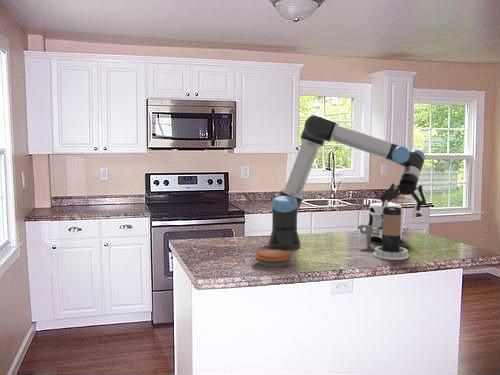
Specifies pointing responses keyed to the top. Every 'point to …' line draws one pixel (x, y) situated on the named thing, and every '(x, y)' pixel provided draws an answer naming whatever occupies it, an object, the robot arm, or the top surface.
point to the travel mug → (391, 229)
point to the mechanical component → (368, 232)
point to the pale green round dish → (391, 254)
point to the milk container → (379, 219)
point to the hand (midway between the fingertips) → (398, 214)
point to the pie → (273, 258)
